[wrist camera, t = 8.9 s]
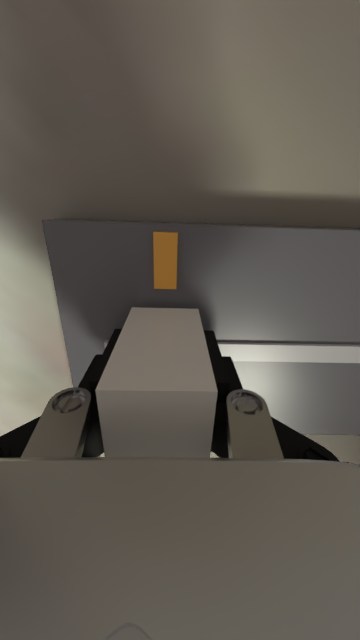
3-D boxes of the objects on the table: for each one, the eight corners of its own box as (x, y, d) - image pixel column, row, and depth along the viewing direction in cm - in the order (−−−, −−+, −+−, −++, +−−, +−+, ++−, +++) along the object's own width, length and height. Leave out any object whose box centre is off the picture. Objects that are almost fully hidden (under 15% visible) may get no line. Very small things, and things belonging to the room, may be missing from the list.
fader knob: (198, 308, 11) (217, 391, 6) (192, 394, 13) (203, 509, 8) (131, 307, 11) (95, 390, 6) (136, 394, 13) (112, 510, 8)
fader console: (593, 236, 12) (655, 240, 10) (466, 417, 17) (496, 438, 15) (58, 219, 11) (39, 220, 10) (90, 414, 16) (81, 435, 15)
